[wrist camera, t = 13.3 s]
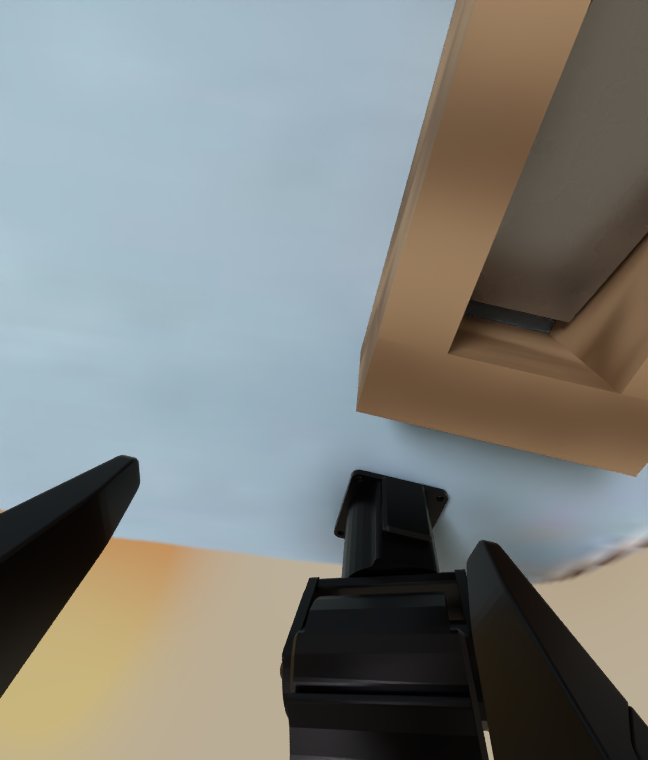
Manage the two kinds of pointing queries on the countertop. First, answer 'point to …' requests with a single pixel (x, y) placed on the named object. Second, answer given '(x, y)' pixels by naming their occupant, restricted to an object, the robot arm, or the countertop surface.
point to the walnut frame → (469, 252)
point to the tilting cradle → (579, 175)
